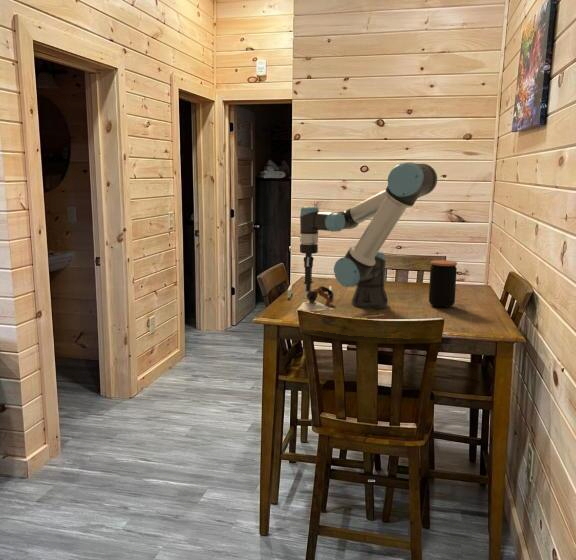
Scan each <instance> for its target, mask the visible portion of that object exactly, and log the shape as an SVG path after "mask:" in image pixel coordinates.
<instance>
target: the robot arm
mask: <svg viewBox="0 0 576 560" xmlns="http://www.w3.org/2000/svg"><path fill="white" fill-rule="evenodd" d="M437 184H438V174H437V172H436V170H435V169H434V167H432V166H431V165H429V164H426V163H415V162H404V163H399V164H398V165H395V166H394V167H393V168H392V169H391V170H390V172H389V174H388V176H387V186H386V187H385V190H382V191H380V192H378V193H376V194H374V195H372V196H371V197H369V198H367V199H365V200H363V201H361V202H359V203H357V204H355V205H353V206H351V207H350V208H347V209H346V210H343V211H332V212H331V211H330V212H329V211H327V212H326V211H325V212H324V211H320V210H319V209H320V208H319V207H318V206H311V205H309V206H308V205H307V206H301V208H300V216H299V220H300V225H299V226H300V227H299V228H300V231H299V235H298V238H299V242H300V244H299V252H300V254H305V256H304V257H303V264H304V266H303V268H304V281H303V283H302V284H304V299H306V300H308V298H307V294H308V293H309V292H310V291H312V288H313V287H312V284H313V283H314V281H313V278H312V277H313V274H312V273H313V267H314V256H313V255H312V254H317V253H318V252H319V251H318V249H319V231H325V232H333V233H334V232H341V231H342V230H352V229H355V228H357V227H358V226H359V225H360V224H361V223H363V222H365V221H367V220H369V219H371V220H370V222H369V224H368V225H367V227H366V229H364V232H363V233H362V235H361V237H360V238H359V240H357V241H358V242H357V243H356V245H355V246H350V248H349V249H348V250H347V252H346V253H345V256H344V257H341V258H339V259H337V260H336V262H335V264H334V266H333V273H334V277H335V280H336V281H337V282H338V283H339V284H340V285H341V286H343V287H347V288H348V287H349V288H350V287H351V288H352V287H355V290H354V293H353V295H352V297H351V306H353V307H356V308H360V309H372V310H379V309H381V310H383V309H385V308H388V307H389V298H388V296H387V292H386V289H385V282H386V280H385V278H386V262H387V261H386V254H385V252H382V251H380V250H381V248H383V247H382V246H383V245H384V244H385V242H386V240H387V239H388V237H389V236H390V234H391V232H392V231H393V229H394V228H395V226H396V225H397V224H398V222H399V220H400V219H401V217H402V216H403V214H404V212H405V211H406V209H407V208H411V207H413V206H414V204H416V201H417V200H418V199H419V198H421V197H424V196H426V195H428V194H430V193H431V192H433V191H434V189H435V188H436V186H437Z"/></svg>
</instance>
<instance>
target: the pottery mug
mask: <svg viewBox="0 0 576 560" xmlns="http://www.w3.org/2000/svg"><path fill="white" fill-rule="evenodd" d="M318 295H319V296H320V297H322V298H324V299H325V300H326V301H325V305H326V306H329V305H330V304H331V303H332V302H333V300H334V293H333V291H332V289H331V290H330V289H329V287H326V286H323V285H319V286H318V288H316V289H314V290H311V291H310V292H309V293H308V294H307V298H308V299H307V300H308V302H309V303H310V304H311V303H314V302H315V301H317V298H318ZM329 295H330V297H329Z"/></svg>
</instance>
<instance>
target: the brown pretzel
mask: <svg viewBox="0 0 576 560" xmlns="http://www.w3.org/2000/svg"><path fill="white" fill-rule="evenodd" d="M328 289H330V290H331V291H332V285H329V286H328ZM291 294H293V285H292V284H290V285H289V286H288V288H287V299H288V298H290V299H291V298H292V297H291V296H292V295H291ZM328 297H330V295H329V296H328Z"/></svg>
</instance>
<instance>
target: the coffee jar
mask: <svg viewBox="0 0 576 560" xmlns="http://www.w3.org/2000/svg"><path fill="white" fill-rule="evenodd" d="M430 264H431V266H430V269H429V288H428V291H429V292H428V302H429V304H430V305H432V306H435V307H445V308H446V307H452V306H453V305H454V304H455V302H456V286H457V269H458V268H457V267H456V266H457V265H458V262H457V261H454V260H447V259H446V260H445V259H438V260H431V261H430Z"/></svg>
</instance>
